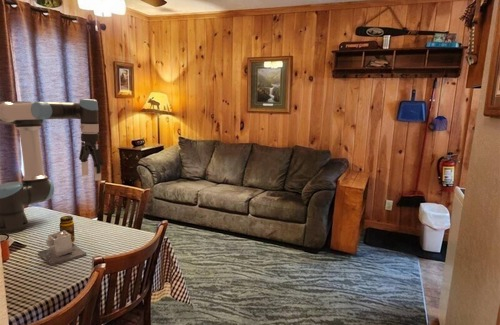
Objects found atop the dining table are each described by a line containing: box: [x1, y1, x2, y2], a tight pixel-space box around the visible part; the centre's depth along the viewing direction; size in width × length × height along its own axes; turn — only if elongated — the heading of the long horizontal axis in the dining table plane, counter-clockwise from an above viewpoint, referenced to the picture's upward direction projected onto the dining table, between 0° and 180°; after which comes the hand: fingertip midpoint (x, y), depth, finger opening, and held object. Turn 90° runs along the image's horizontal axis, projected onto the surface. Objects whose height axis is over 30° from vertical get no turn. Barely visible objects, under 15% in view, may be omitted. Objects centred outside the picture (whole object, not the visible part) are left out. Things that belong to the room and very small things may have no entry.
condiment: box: [59, 215, 77, 244], centre depth 157 cm, size 7×8×12 cm
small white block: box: [45, 231, 73, 257], centre depth 143 cm, size 8×7×8 cm
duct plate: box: [37, 231, 87, 267], centre depth 144 cm, size 15×14×10 cm
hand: (91, 177), depth 157 cm, fingers open, 13 cm apart
